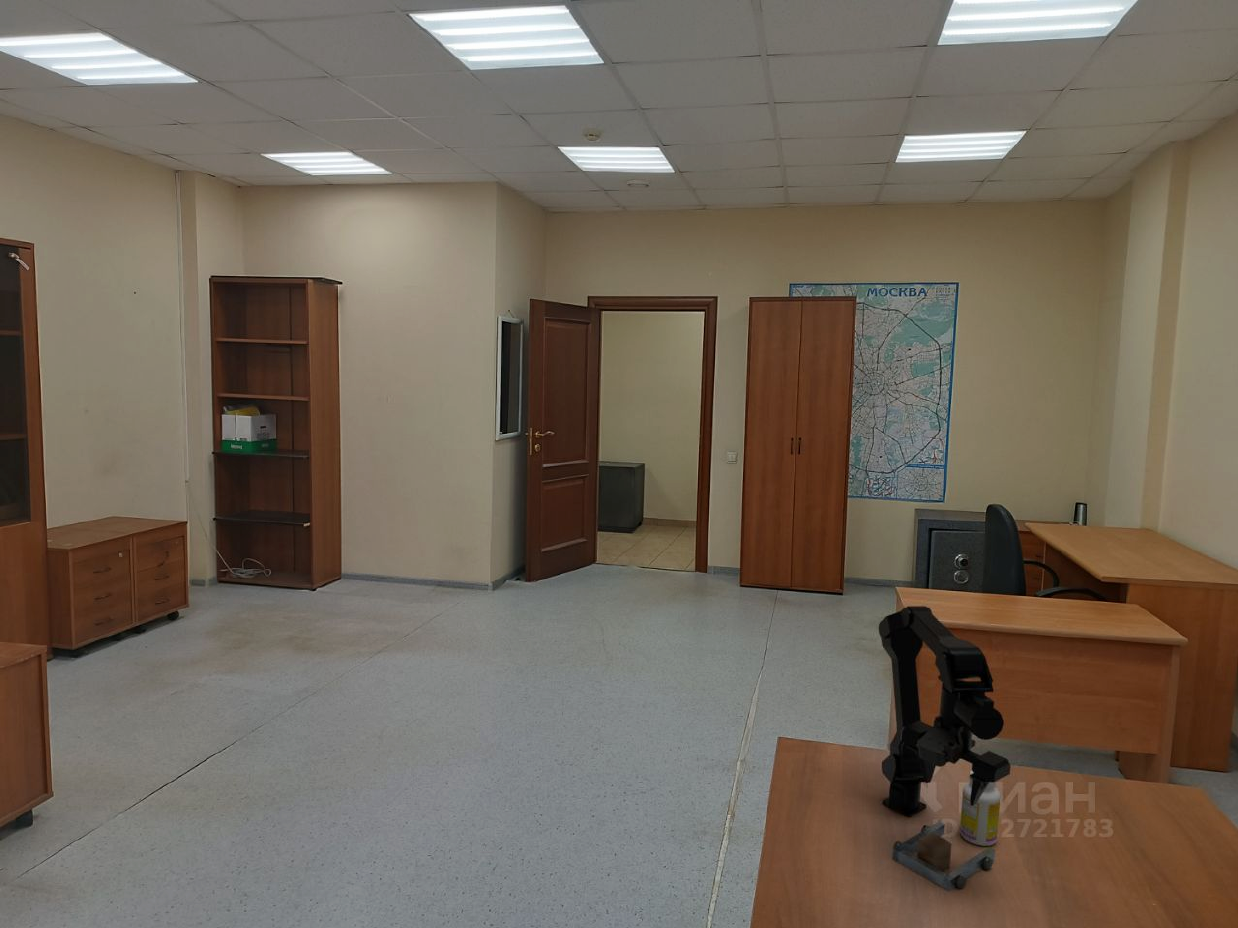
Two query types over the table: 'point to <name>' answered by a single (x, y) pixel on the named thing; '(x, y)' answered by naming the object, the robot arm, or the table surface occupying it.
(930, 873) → the grey metal u-shaped frame
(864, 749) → the table surface
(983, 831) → the supplement bottle
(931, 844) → the brown block
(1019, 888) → the table surface
